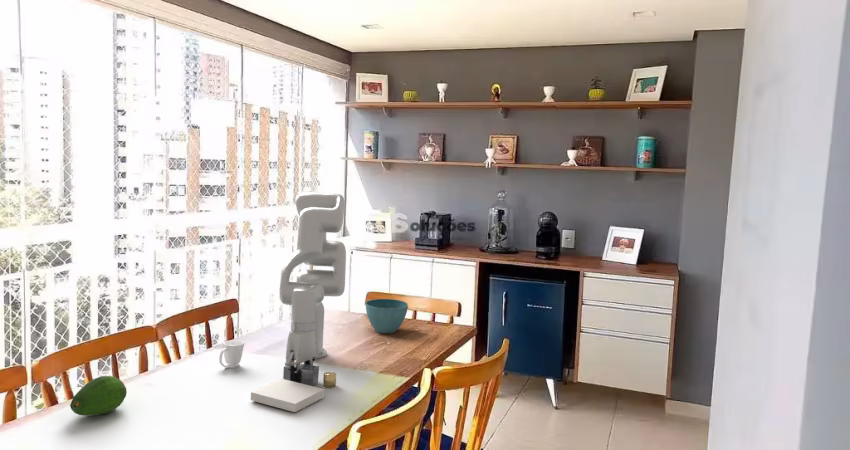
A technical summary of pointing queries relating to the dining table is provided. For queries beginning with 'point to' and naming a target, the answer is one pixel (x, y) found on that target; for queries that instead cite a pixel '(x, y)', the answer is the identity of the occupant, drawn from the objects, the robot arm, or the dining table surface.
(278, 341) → the dining table surface
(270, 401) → the stand
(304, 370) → the block
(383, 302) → the teal bowl
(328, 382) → the cylinder
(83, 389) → the fruit
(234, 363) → the cup
